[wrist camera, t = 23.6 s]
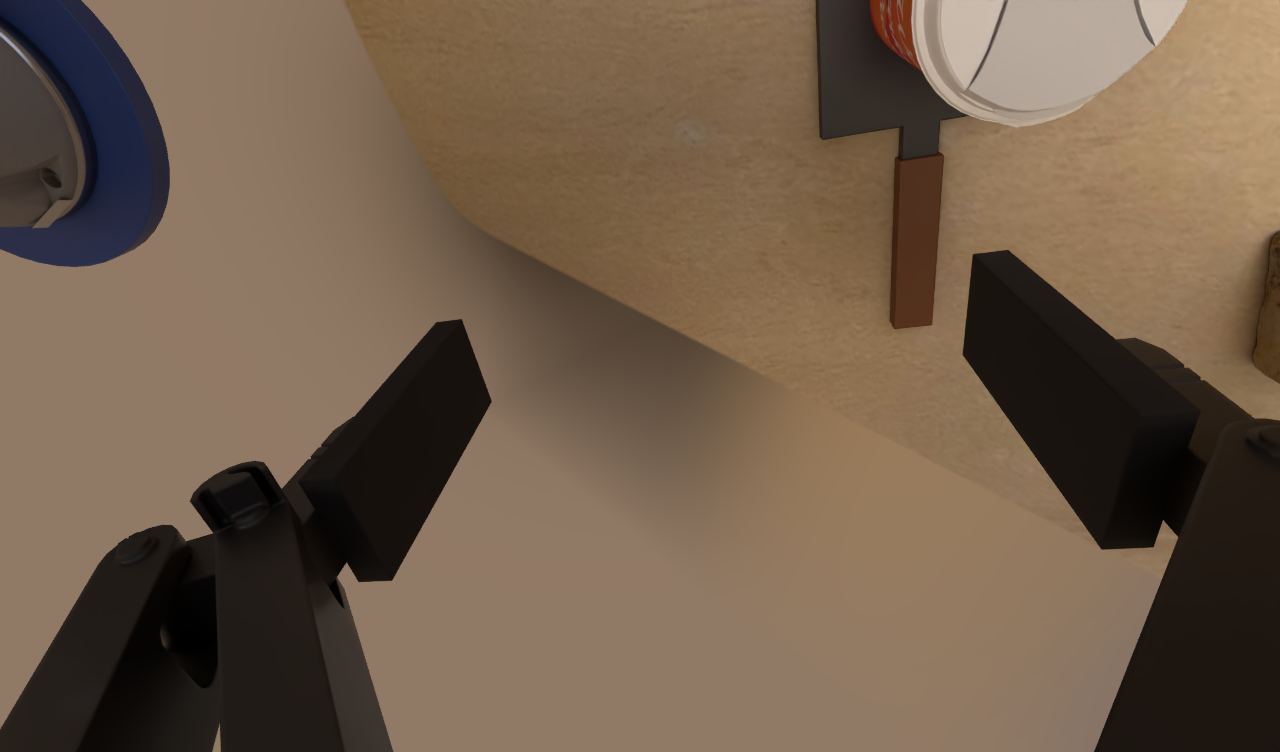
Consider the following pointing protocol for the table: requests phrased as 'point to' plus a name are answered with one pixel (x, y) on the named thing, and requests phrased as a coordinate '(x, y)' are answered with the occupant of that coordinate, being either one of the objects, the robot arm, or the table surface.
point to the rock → (1270, 319)
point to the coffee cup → (1022, 50)
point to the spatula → (890, 98)
